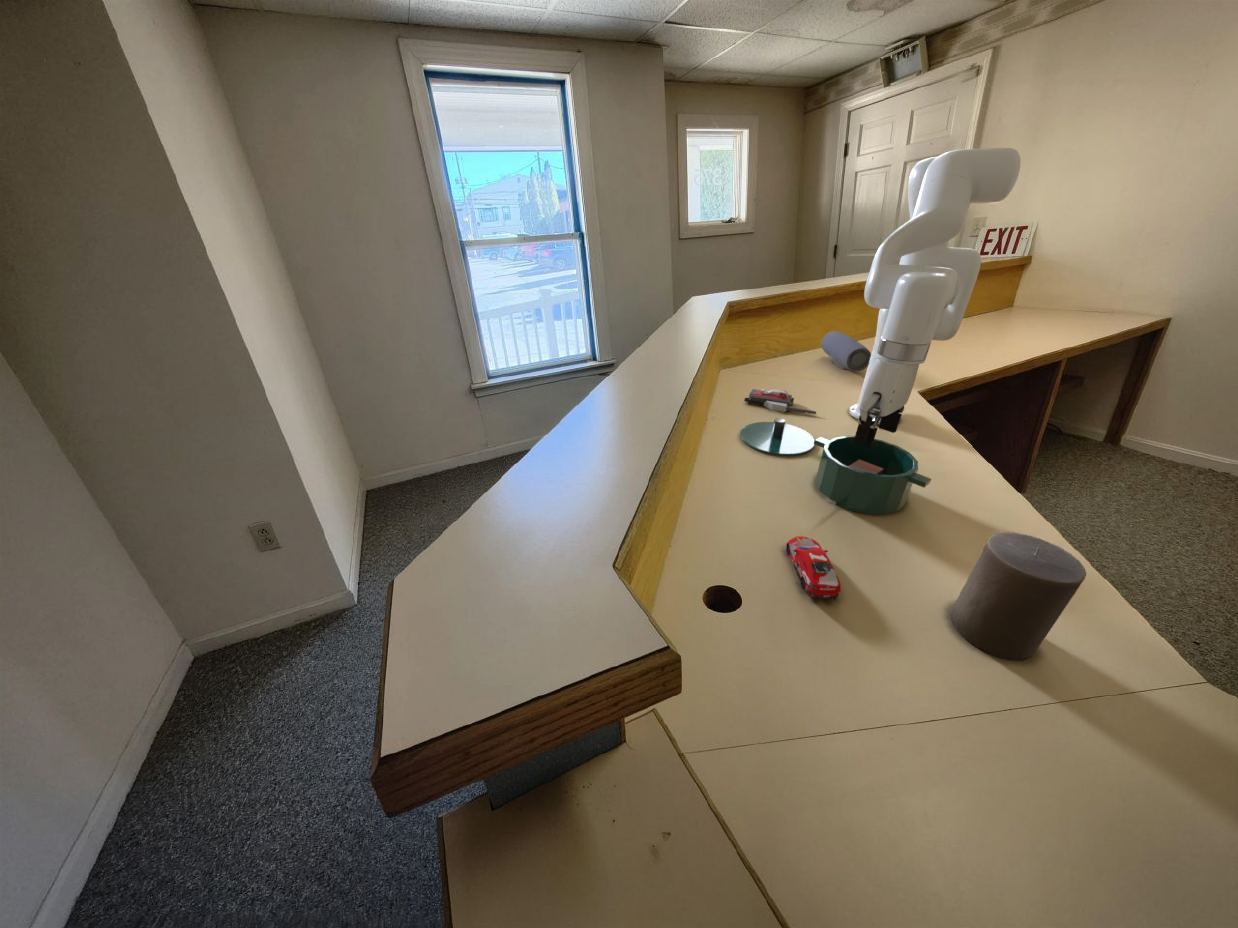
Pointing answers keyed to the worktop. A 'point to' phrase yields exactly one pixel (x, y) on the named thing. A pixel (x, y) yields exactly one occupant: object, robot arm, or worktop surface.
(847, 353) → the bluetooth speaker
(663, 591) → the worktop surface
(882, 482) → the pot
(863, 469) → the block
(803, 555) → the race car
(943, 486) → the worktop surface
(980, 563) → the pillar candle
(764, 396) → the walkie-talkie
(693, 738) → the worktop surface
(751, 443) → the lid
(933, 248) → the robot arm
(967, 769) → the worktop surface
